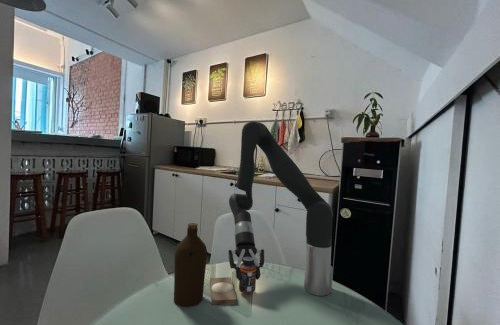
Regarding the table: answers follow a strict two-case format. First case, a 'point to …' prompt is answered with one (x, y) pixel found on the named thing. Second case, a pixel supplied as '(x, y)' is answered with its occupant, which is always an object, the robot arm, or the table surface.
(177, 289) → the olive oil
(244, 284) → the supplement bottle
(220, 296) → the board
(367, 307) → the table surface
